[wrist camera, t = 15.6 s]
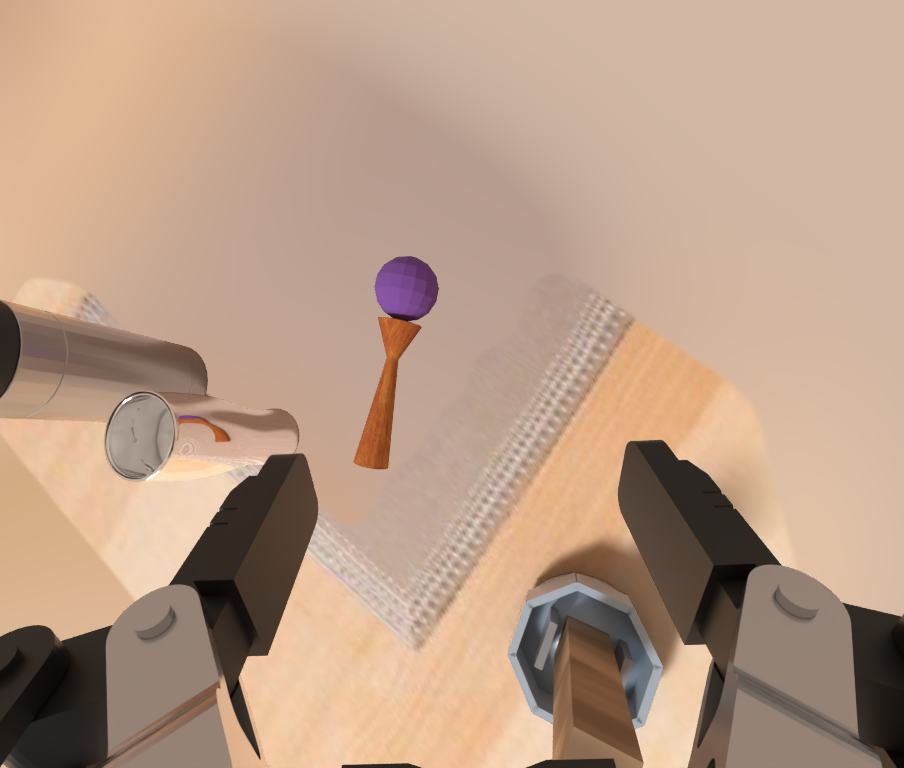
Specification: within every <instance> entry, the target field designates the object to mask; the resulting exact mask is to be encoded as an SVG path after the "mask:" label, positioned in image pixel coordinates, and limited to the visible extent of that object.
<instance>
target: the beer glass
mask: <svg viewBox="0 0 904 768" xmlns="http://www.w3.org/2000/svg"><path fill="white" fill-rule="evenodd" d="M298 443H299V429H298V426H297V423H296V421H295V419H294V418H293V417H292V416H291V415H290V414H289V413H288V412H286V411H284V410H281V409H267V410H262V411H255V410H251V409H248V408H244V407H242V406H239V405H237V404H234V403H231V402H228V401H225V400H222V399H218V398H215V397H211V396H205V395H199V394H192V393H181V392H153V391H138V392H135V393H132V394H130V395H128V396H127V397H125V398H124V399H123V400H122V401H121V402H120V403H119V404H118V405H117V406H116V407H115V409H114V410H113V412H112V413H111V415H110V417H109V420H108V422H107V425H106V429H105V434H104V450H105V455H106V459H107V461H108V464H109V465H110V467H111V469H112V470H113V471H114V472H115V474H117V475H118V476H119V477H120V478H122V479H124V480H126V481H129V482H147V481H182V480H192V479H199V478H205V477H209V476H213V475H217V474H220V473H224V472H227V471H230V470H233V469H236V468H239V467H242V466H245V465H251V464H256V465H261V466H263V465H264V464H265V462H266V460H267V459H268V457H269V456H271V455H275V454H294V453H295V451H296V449H297V446H298Z"/></svg>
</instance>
